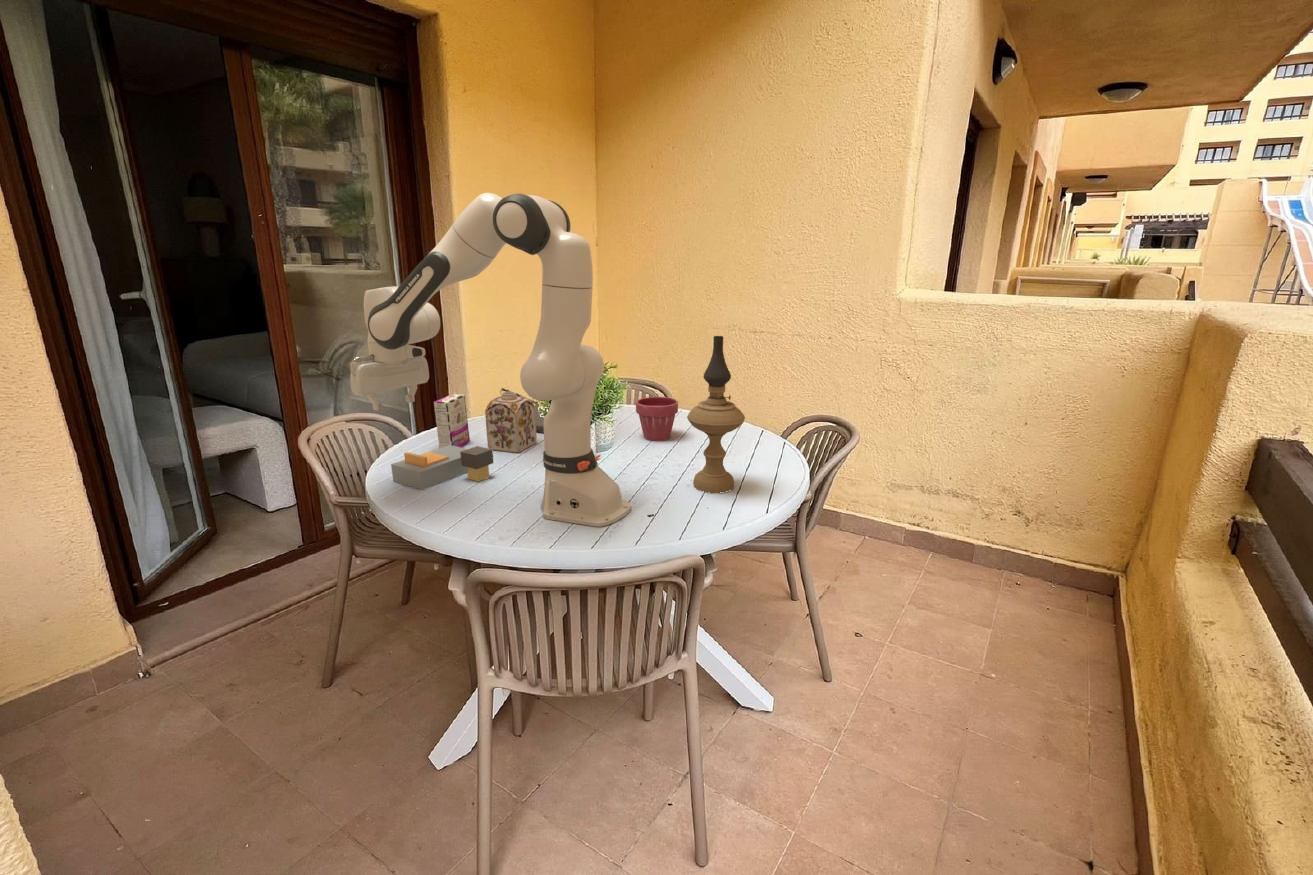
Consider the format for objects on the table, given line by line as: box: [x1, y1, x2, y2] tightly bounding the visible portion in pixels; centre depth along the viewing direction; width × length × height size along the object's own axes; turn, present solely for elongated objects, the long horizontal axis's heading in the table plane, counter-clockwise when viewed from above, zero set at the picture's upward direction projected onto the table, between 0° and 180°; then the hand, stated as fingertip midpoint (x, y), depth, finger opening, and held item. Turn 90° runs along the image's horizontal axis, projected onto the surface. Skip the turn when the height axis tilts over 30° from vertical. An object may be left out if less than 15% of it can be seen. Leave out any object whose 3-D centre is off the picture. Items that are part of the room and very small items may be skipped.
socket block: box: [390, 445, 468, 491], centre depth 164 cm, size 12×20×5 cm, turn 150°
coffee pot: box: [499, 387, 544, 433], centre depth 207 cm, size 21×12×15 cm, turn 87°
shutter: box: [403, 451, 449, 467], centre depth 161 cm, size 8×8×3 cm
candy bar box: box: [433, 393, 471, 449], centre depth 187 cm, size 11×5×16 cm, turn 168°
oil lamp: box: [686, 335, 746, 494], centre depth 151 cm, size 15×15×40 cm
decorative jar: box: [484, 391, 538, 454], centre depth 187 cm, size 12×12×18 cm
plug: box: [460, 445, 494, 482], centre depth 161 cm, size 6×6×8 cm
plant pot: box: [635, 396, 679, 442], centre depth 198 cm, size 14×14×13 cm
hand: (394, 405), depth 150 cm, fingers open, 8 cm apart
